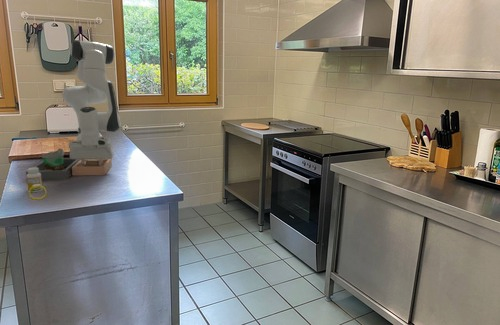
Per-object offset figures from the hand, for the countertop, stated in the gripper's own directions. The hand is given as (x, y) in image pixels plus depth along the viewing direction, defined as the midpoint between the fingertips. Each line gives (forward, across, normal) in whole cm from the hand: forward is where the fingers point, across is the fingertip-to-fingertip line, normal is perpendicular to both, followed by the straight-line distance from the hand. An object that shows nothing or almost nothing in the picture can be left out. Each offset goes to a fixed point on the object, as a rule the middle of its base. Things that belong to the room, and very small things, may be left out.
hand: (93, 167), depth 186 cm
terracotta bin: (+2, 0, 0) cm, 2 cm away
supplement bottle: (+2, -16, -29) cm, 33 cm away
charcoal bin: (+2, -17, -2) cm, 17 cm away
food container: (+2, -17, +1) cm, 17 cm away
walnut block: (+2, 0, 0) cm, 2 cm away
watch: (+2, -11, -39) cm, 41 cm away
